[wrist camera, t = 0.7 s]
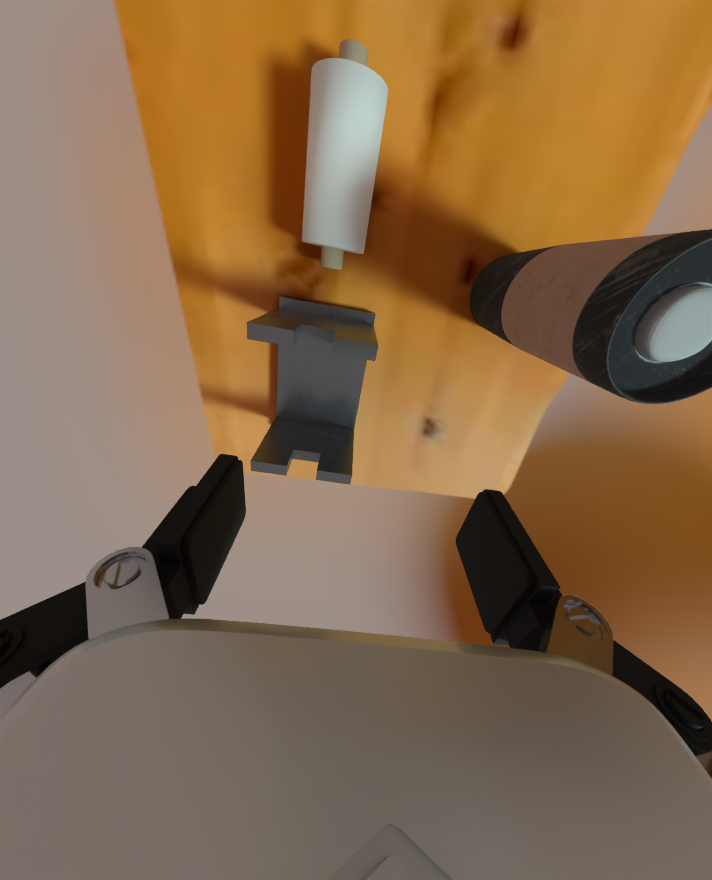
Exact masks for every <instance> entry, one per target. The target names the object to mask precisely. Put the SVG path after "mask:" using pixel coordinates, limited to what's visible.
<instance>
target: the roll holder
mask: <svg viewBox="0 0 712 880" xmlns="http://www.w3.org/2000/svg"><path fill="white" fill-rule="evenodd" d="M374 319H375V313H372V312H366V311H361V310H355V309H350V308H345V307H339V306H334V305H328V304H323V303H318V302H312V301H307V300H301V299H296V298H291V297H285V296H281V297H279V308H277V309H275V310H273V311H270V312H268V313H266V314H264V315H262V316H260V317H258V318H255V319H253V320H251V321H249V322H247V339H251V340H257V341H262V342H268V343H274V344H278V371H277V409H276V418H275V420H274V421H273V423H272V425H271V426H270V428H269V430H268V432H267V433H266V435H265V437H264V439H263V440H262V442H261V444H260V446H259V447H258V449H257V451H256V453H255V454H254V456H253V458H252V459H251V471H257V472H265V473H272V474H279V475H287V472H288V469H289V467H290V464H291V461H292V459H299V460H306V461H313V462H319V464H318V468H317V475H316V480H322V481H329V482H336V483H343V484H350V482H351V477H352V462H353V439H354V426H355V420H356V415H357V410H358V404H359V399H360V394H361V388H362V383H363V378H364V372H365V367H366V361H367V360H372V361H375V359H376V354H377V349H378V343H377V338H376V334H375V330H374V325H373V324H374Z"/></svg>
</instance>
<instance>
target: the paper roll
mask: <svg viewBox="0 0 712 880" xmlns="http://www.w3.org/2000/svg"><path fill="white" fill-rule="evenodd" d="M367 58H368V51H367V49H366V47H365V46H364V45H362V44H361V43H359V42H357V41H354V40H344V41H342V42H341V43H340V48H339V58H326V59H322V60H320V61H318V62H316V63H315V64H314V65H313V67H312V72H311V89H310V106H309V124H308V141H307V159H306V176H305V194H304V211H303V229H302V242H305V243H308V244H312V245H317V246H321V247H322V253H321V264H320V266H322V267H327V268H332V269H337V270H342V264H343V255H344V251H346V252H351V253H358V254H364V248H365V242H366V235H367V229H368V222H369V216H370V209H371V202H372V196H373V189H374V183H375V176H376V170H377V163H378V156H379V150H380V143H381V137H382V130H383V124H384V117H385V110H386V104H387V97H388V87H387V85H386V83H385V81H384V80H383V79H382V78H381V77H380V76H379V75H378V74H377V73H376V72H374V71H373V70H371V69H370V68H368V67H367Z"/></svg>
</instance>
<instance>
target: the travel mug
mask: <svg viewBox="0 0 712 880" xmlns="http://www.w3.org/2000/svg"><path fill="white" fill-rule="evenodd" d="M470 307H471V312H472V315H473V317H474V319H475V320H476V321H477V323H478V324H479V325H481V326H482V327H483V328H485V329H487V330H488V331H490V332H492V333H493V334H495V335H497V336H498V337H500V338H502V339H504V340H505V341H507V342H509V343H510V344H512V345H514V346H515V347H517V348H519V349H521V350H523V351H525V352H527V353H529V354H531V355H534V356H536V357H538V358H540V359H542V360H544V361H546V362H548V363H550V364H552V365H555V366H557V367H559V368H561V369H563V370H565V371H567V372H569V373H571V374H574V375H576V376H578V377H580V378H582V379H584V380H586V381H588V382H590V383H593V384H595V385H597V386H599V387H601V388H603V389H605V390H607V391H609V392H611V393H613V394H616V395H618V396H620V397H623V398H625V399H627V400H630V401H634V402H639V403H646V404H661V403H669V402H674V401H678V400H682V399H685V398H688V397H691V396H694V395H697V394H699V393H701V392H703V391H706V390H708V389H709V388H712V229H710V230H701V231H691V232H684V233H683V232H682V233H672V234H662V235H653V236H643V237H633V238H624V239H614V240H604V241H595V242H585V243H575V244H566V245H559V246H554V247H548V248H543V249H537V250H531V251H526V252H520V253H515V254H511V255H506V256H503V257H501V258H498V259H496V260H495V261H493V262H492V263H490V264H489V265H488V266H487V267H486V268H485V269H484V270H483V271H482V272H481V273H480V275H479V276H478V278H477V279H476V281H475V283H474V286H473V288H472V292H471V297H470Z"/></svg>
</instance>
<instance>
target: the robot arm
mask: <svg viewBox="0 0 712 880" xmlns="http://www.w3.org/2000/svg"><path fill="white" fill-rule="evenodd" d="M244 492H245V491H244V477H243V463H242V461H241V460H238V457H237V456H233V455H226V454H220V455H219V456H218V458H217V459H216V460H215V462H214V463H213V464H212V466H211V467H210V468H209V470H208V471H207V472H206V474H205V475H204V476H203V478H202V479H201V480H200V482H199V483H198V484H197V486H191V487H189V488H188V489H187V490H186V491H185V493H184V494H183V495H182V497H181V498H180V499H179V500H178V502H177V503H176V504H175V505H174V507H173V508H172V509H171V511H170V512H169V513H168V514H167V516H166V517H165V518H164V519H163V521H162V522H161V523H160V525H159V526H158V527H157V528H156V530H155V531H154V532H153V534H152V535H151V536H150V538H149V539H148V540H147V541H146V543H145V544H144V545H143V546H142V548H140V547H129V548H124V549H121V550H118V551H115V552H114V553H111V554H109V555H107V556H106V557H104V558H103V559H101V560H100V561H99V562H98V563H97V564H96V565H95V566H94V567H93V568H92V569H91V570H90V572H89V574H88V576H87V578H86V582H84V583H82V584H80V585H77V586H75V587H73V588H71V589H69V590H66V591H64V592H62V593H59V594H57V595H55V596H53V597H51V598H48V599H46V600H44V601H42V602H39V603H37V604H35V605H33V606H30V607H28V608H26V609H24V610H21V611H19V612H17V613H15V614H13V615H10V616H8V617H6V618H4V619H1V620H0V880H712V722H711V720H710V718H709V717H708V716H707V714H706V713H705V712H704V711H703V709H702V708H701V707H700V706H699V705H698V704H697V703H696V702H695V701H694V700H693V699H692V698H691V697H690V696H689V695H688V694H687V693H685V692H684V691H683V690H682V689H680V688H679V687H678V686H677V685H675V684H674V683H672V682H671V681H670V680H668V679H667V678H665V677H664V676H663V675H661V674H660V673H659V672H657V671H656V670H654V669H653V668H652V667H650V666H649V665H647V664H646V663H645V662H643V661H642V660H640V659H639V658H638V657H636V656H635V655H634V654H632V653H631V652H629V651H628V650H627V649H625V648H624V647H623V646H621V645H620V644H618V643H617V642H616V641H614V639H613V638H614V637H613V631H612V629H611V627H610V625H609V623H608V622H607V620H606V619H605V618H604V616H603V615H602V614H601V613H600V612H599V611H598V610H597V609H596V608H595V607H594V606H592V605H591V604H590V603H588V602H587V601H585V600H583V599H581V598H579V597H576V596H573V595H564V596H562V594H561V593H560V591H559V589H560V586H559V584H558V583H557V581H556V579H555V578H554V576H553V575H552V573H551V571H550V570H549V568H548V567H547V565H546V563H545V562H544V560H543V559H542V557H541V555H540V553H539V552H538V550H537V549H536V547H535V545H534V544H533V542H532V540H531V539H530V537H529V536H528V534H527V532H526V531H525V529H524V528H523V526H522V524H521V523H520V521H519V519H518V518H517V516H516V515H515V513H514V511H513V510H512V508H511V507H510V505H509V503H508V502H507V500H506V498H505V497H504V495H503V494H502V492H500V491H495V490H488V489H485V490H483V492H480V493H479V494H478V495H477V497H476V499H475V501H474V503H473V505H472V507H471V509H470V511H469V513H468V515H467V517H466V519H465V521H464V523H463V525H462V527H461V529H460V531H459V533H458V535H457V537H456V545H457V549H458V552H459V554H460V557H461V560H462V563H463V566H464V569H465V572H466V575H467V578H468V581H469V584H470V587H471V590H472V593H473V596H474V599H475V602H476V605H477V608H478V611H479V614H480V617H481V620H482V623H483V626H484V628H485V630H486V632H488V633H490V636H491V638H492V642H493V644H503V645H509V646H510V648H508V647H500V646H491V645H482V644H472V643H462V642H452V641H443V640H433V639H423V638H413V637H403V636H393V635H383V634H372V633H362V632H351V631H341V630H330V629H320V628H309V627H297V626H287V625H276V624H265V623H252V622H239V621H226V620H212V619H181V617H182V615H183V614H195V612H196V610H197V608H198V606H199V604H204V603H205V602H206V600H207V598H208V596H209V594H210V592H211V590H212V587H213V585H214V583H215V581H216V579H217V577H218V575H219V573H220V570H221V568H222V566H223V564H224V562H225V560H226V557H227V555H228V553H229V551H230V549H231V547H232V545H233V542H234V540H235V538H236V536H237V534H238V532H239V529H240V527H241V525H242V523H243V521H244V518H245V513H246V506H245V493H244Z"/></svg>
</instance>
